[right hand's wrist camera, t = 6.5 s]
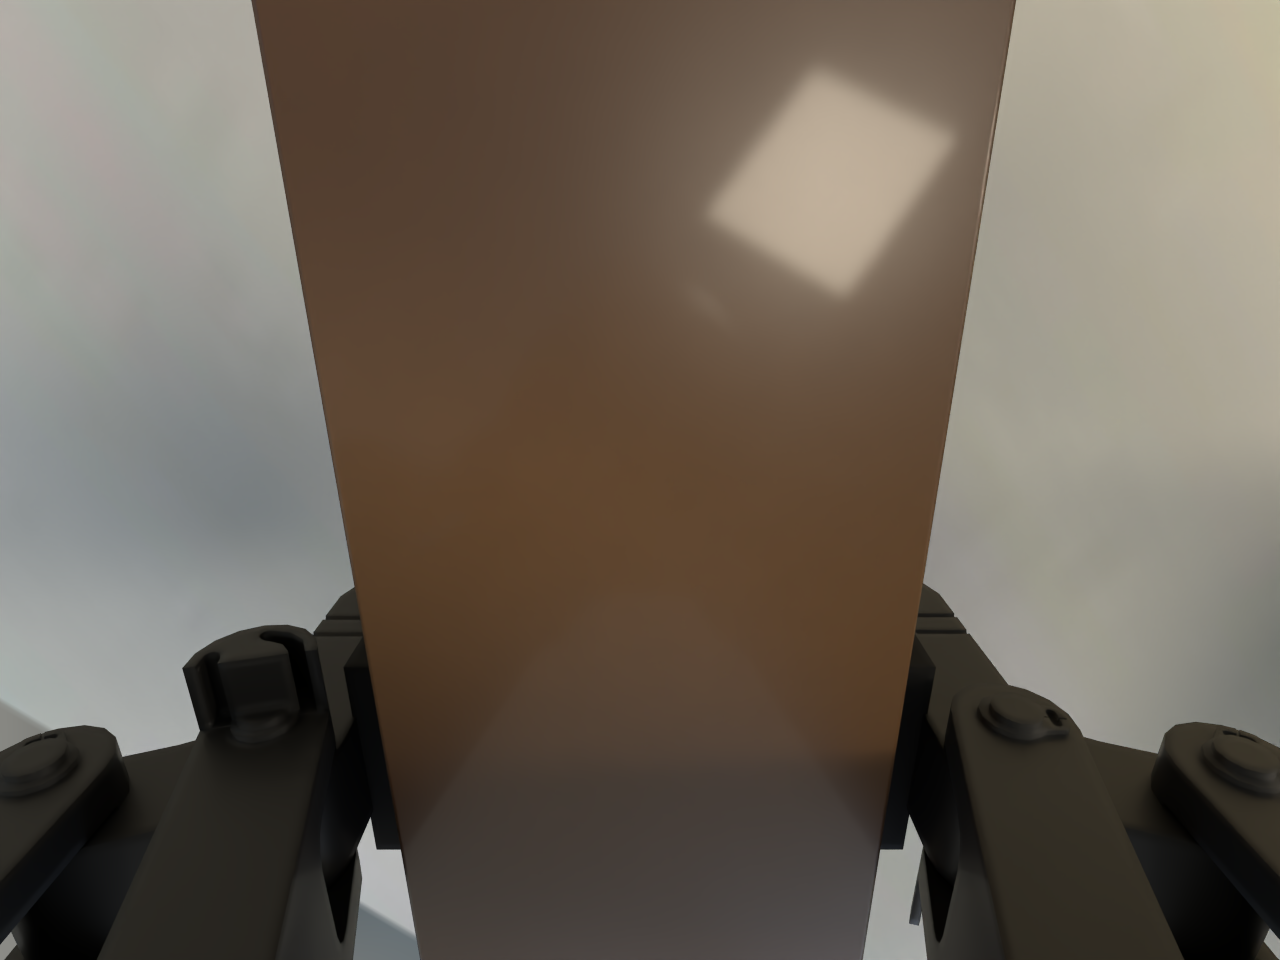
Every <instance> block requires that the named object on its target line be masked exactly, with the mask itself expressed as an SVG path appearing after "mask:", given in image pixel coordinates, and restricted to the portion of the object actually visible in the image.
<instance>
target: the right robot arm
mask: <svg viewBox="0 0 1280 960" xmlns="http://www.w3.org/2000/svg"><path fill="white" fill-rule="evenodd" d="M182 669H183V672H184V676H185V679H186V683H187V686H188V690H189V693H190V697H191V701H192V704H193V708H194V711H195V715H196V718H197V722H198V725H199V729H200V732H199V734H198V737H197V739H196V740H195V741H192V742H188V743H184V744H181V745H176V746H172V747H167V748H162V749H158V750H153V751H148V752H144V753H139V754H134V755H130V756H125V757H122V754H121V752H120V749H119V746H118V743H117V740H116V737H115V736H114V735H113V734H111V733H110V732H109V731H108V730H106V729H105V728H100V727H93V726H86V725H83V726H75V727H67V728H60V729H56V730H52V731H47V732H45V733H43V734H38V735H35V736H32V737H29V738H27V739H25V740H23V741H21V742H19V743H17V744H15V745H13V746H11V747H9V748H7V749H5V750H3V751H1V752H0V944H1V943H2V942H3V941H4V939H5V938H6V937H7V936H8V935H9V933H10V932H12V934H13V937H14V939H15V941H16V943H17V945H16V946H15V948H14V949H13V950H12V951H11V952H10V954H9V955H8V956H7V957H6V959H5V960H353V954H354V945H355V936H356V928H357V919H358V910H359V901H360V893H361V884H362V874H361V867H360V861H359V856H358V850H357V847H358V844H359V842H360V840H361V838H362V835H363V833H364V831H365V828H366V826H367V824H368V822H369V819H370V817H371V821H372V826H373V832H374V837H375V843H376V848H377V849H401V847H400V842H399V836H398V830H397V824H396V819H395V813H394V807H393V802H392V796H391V790H390V785H389V779H388V773H387V768H386V762H385V756H384V751H383V745H382V739H381V734H380V728H379V722H378V716H377V711H376V705H375V699H374V694H373V688H372V682H371V677H370V671H369V665H368V660H367V654H366V648H365V643H364V637H363V631H362V626H361V620H360V614H359V608H358V603H357V597H356V591H355V587H354V588H353V589H351V590H350V591H348V592H346V593H345V594H343V595H342V596H341V597H340V598H339V599H338V601H337V602H336V603H335V605H334V606H333V607H332V608H331V610H330V611H329V612H328V614H327V615H326V620H322V622H321V623H320V624H319V626H318V627H317V628H316V630H315V631H314V635H312V634H311V633H310V632H308V631H307V630H306V629H303V628H299V627H295V626H290V625H267V626H260V627H256V628H251V629H247V630H242V631H238V632H236V633H233V634H231V635H228V636H226V637H223V638H221V639H218V640H216V641H214V642H212V643H211V644H209V645H208V646H206V647H205V648H203V649H202V650H200V651H198V652H197V653H195V654H194V655H193V657H192V658H191V659H190V660H189V661H188V662H187V663H186V665H185V666H184V667H183V668H182ZM909 814H910V817H911V819H912V821H913V824H914V826H915V828H916V830H917V833H918V835H919V837H920V840H921V842H922V844H923V850H922V855H921V861H920V866H919V871H918V876H917V881H916V886H915V891H914V896H913V901H912V906H911V913H910V920H909V923H910V924H914V925H919V922H920V917H921V912H922V917H923V926H924V935H925V943H926V952H927V960H1279V959H1278V958H1277V957H1276V956H1275V955H1274V954H1273V952H1272V951H1271V950H1270V949H1269V947H1268V946H1267V945H1266V944H1265V943H1264V939H1265V937H1266V935H1267V933H1268V931H1269V928H1270V929H1271V930H1272V931H1273V932H1274V933H1275V935H1276V936H1277V937H1278V938H1279V939H1280V748H1279V747H1276V746H1274V745H1272V744H1270V743H1268V742H1266V741H1264V740H1262V739H1260V738H1258V737H1257V736H1255V735H1253V734H1250V733H1247V732H1244V731H1241V730H1236V729H1235V728H1231V727H1226V726H1223V725H1215V724H1208V723H1200V722H1192V723H1185V724H1178V725H1175V726H1174V727H1172V728H1171V729H1170V730H1169V731H1168V732H1166V733H1165V735H1164V738H1163V741H1162V744H1161V747H1160V749H1159V752H1158V754H1156V753H1151V752H1147V751H1142V750H1137V749H1132V748H1128V747H1123V746H1118V745H1114V744H1109V743H1104V742H1100V741H1096V740H1092V739H1089V738H1085V737H1083V735H1082V733H1081V731H1080V729H1079V728H1078V727H1077V725H1076V724H1075V722H1074V721H1073V720H1072V718H1071V717H1070V716H1069V714H1067V713H1066V712H1065V711H1063V710H1062V709H1061V708H1059V707H1058V706H1057V705H1055V704H1054V703H1053V702H1051V701H1050V700H1048V699H1046V698H1044V697H1041V696H1039V695H1037V694H1035V693H1033V692H1031V691H1028V690H1026V689H1022V688H1018V687H1014V686H1010V685H1008V684H1007V683H1006V681H1005V680H1004V679H1003V677H1002V676H1001V675H1000V673H999V672H998V671H997V669H996V668H995V667H994V666H993V664H992V663H991V662H990V660H989V659H988V658H987V656H986V655H985V654H984V652H983V651H982V650H981V648H980V647H979V646H978V644H977V643H976V642H975V640H974V639H973V638H972V636H971V635H970V634H967V633H966V629H965V627H964V626H963V625H962V623H961V622H960V621H959V619H958V618H957V617H954V613H953V611H952V610H951V609H950V607H949V606H948V605H947V604H946V602H945V601H944V600H943V598H942V597H941V596H940V594H939V593H937V592H936V591H934V590H932V589H931V588H929V587H928V586H926V585H925V584H923V585H922V591H921V597H920V603H919V610H918V616H917V622H916V628H915V635H914V641H913V647H912V653H911V660H910V666H909V672H908V678H907V685H906V691H905V697H904V703H903V710H902V716H901V722H900V728H899V735H898V741H897V747H896V753H895V760H894V766H893V772H892V778H891V785H890V791H889V797H888V803H887V810H886V816H885V822H884V828H883V835H882V841H881V847H880V849H903V846H904V840H905V835H906V829H907V824H908V818H909Z"/></svg>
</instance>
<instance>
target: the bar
mask: <svg viewBox="0 0 1280 960" xmlns="http://www.w3.org/2000/svg"><path fill="white" fill-rule="evenodd" d="M1015 4H1016V0H252V6H253V12H254V17H255V23H256V29H257V34H258V40H259V46H260V51H261V57H262V63H263V69H264V74H265V80H266V86H267V91H268V97H269V103H270V108H271V114H272V120H273V125H274V131H275V137H276V142H277V148H278V154H279V159H280V165H281V171H282V177H283V182H284V188H285V194H286V199H287V205H288V211H289V216H290V222H291V228H292V233H293V239H294V245H295V250H296V256H297V262H298V267H299V273H300V279H301V284H302V290H303V296H304V302H305V307H306V313H307V319H308V324H309V330H310V336H311V341H312V347H313V353H314V358H315V364H316V370H317V375H318V381H319V387H320V392H321V398H322V404H323V410H324V415H325V421H326V427H327V432H328V438H329V444H330V449H331V455H332V461H333V466H334V472H335V478H336V483H337V489H338V495H339V501H340V506H341V512H342V518H343V523H344V529H345V535H346V540H347V546H348V552H349V557H350V563H351V569H352V574H353V580H354V586H355V591H356V597H357V603H358V608H359V614H360V620H361V626H362V631H363V637H364V643H365V648H366V654H367V660H368V665H369V671H370V677H371V682H372V688H373V694H374V699H375V705H376V711H377V716H378V722H379V728H380V734H381V739H382V745H383V751H384V756H385V762H386V768H387V773H388V779H389V785H390V790H391V796H392V802H393V807H394V813H395V819H396V824H397V830H398V836H399V842H400V847H401V853H402V859H403V864H404V870H405V876H406V881H407V887H408V893H409V898H410V904H411V910H412V915H413V921H414V927H415V932H416V938H417V944H418V950H419V955H420V960H863V953H864V947H865V941H866V935H867V928H868V922H869V916H870V910H871V903H872V897H873V891H874V885H875V878H876V872H877V866H878V860H879V853H880V847H881V841H882V835H883V828H884V822H885V816H886V810H887V803H888V797H889V791H890V785H891V778H892V772H893V766H894V760H895V753H896V747H897V741H898V735H899V728H900V722H901V716H902V710H903V703H904V697H905V691H906V685H907V678H908V672H909V666H910V660H911V653H912V647H913V641H914V635H915V628H916V622H917V616H918V610H919V603H920V597H921V591H922V585H923V578H924V572H925V566H926V560H927V553H928V547H929V541H930V535H931V529H932V522H933V516H934V510H935V504H936V497H937V491H938V485H939V479H940V472H941V466H942V460H943V454H944V447H945V441H946V435H947V429H948V422H949V416H950V410H951V404H952V397H953V391H954V385H955V379H956V372H957V366H958V360H959V354H960V347H961V341H962V335H963V329H964V322H965V316H966V310H967V304H968V297H969V291H970V285H971V279H972V272H973V266H974V260H975V254H976V247H977V241H978V235H979V229H980V222H981V216H982V210H983V204H984V197H985V191H986V185H987V179H988V172H989V166H990V160H991V154H992V147H993V141H994V135H995V129H996V122H997V116H998V110H999V104H1000V97H1001V91H1002V85H1003V79H1004V72H1005V66H1006V60H1007V54H1008V47H1009V41H1010V35H1011V29H1012V22H1013V16H1014V10H1015Z"/></svg>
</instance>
